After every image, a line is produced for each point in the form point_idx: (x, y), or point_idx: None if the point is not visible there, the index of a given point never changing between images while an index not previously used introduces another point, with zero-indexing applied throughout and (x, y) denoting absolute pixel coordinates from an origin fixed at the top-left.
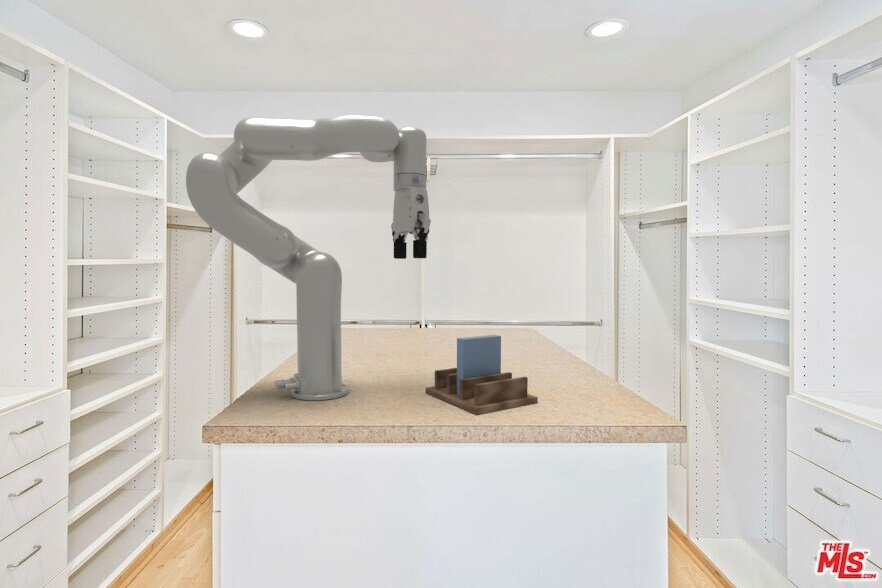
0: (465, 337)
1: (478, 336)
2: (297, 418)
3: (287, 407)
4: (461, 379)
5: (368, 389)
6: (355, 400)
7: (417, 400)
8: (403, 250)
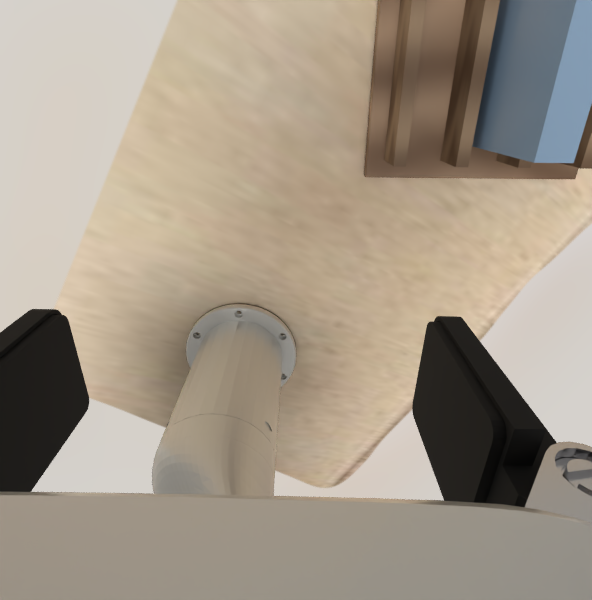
0: (545, 124)
1: (567, 60)
2: (363, 413)
3: (299, 410)
4: (520, 164)
5: (256, 264)
6: (322, 316)
7: (396, 217)
8: (28, 384)
